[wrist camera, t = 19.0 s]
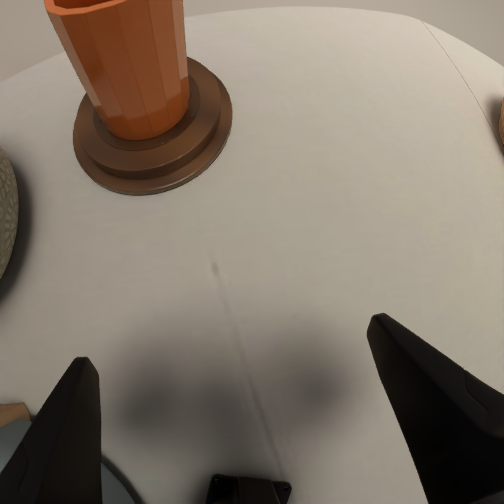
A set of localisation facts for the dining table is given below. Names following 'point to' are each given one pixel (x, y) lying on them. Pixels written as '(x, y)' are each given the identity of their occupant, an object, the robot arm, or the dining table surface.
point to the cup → (128, 60)
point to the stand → (157, 142)
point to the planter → (7, 210)
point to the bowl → (502, 123)
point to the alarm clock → (13, 430)
